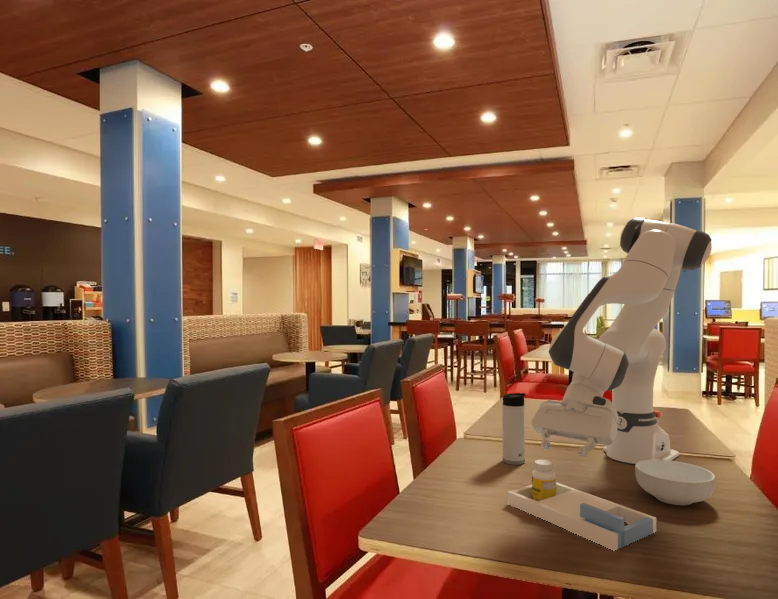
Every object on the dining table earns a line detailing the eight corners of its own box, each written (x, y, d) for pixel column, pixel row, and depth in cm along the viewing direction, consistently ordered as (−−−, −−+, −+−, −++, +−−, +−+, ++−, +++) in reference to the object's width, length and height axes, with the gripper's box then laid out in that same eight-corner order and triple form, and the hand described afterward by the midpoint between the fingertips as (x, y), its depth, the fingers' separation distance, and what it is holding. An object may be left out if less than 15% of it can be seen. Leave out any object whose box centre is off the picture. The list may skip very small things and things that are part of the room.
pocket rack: (549, 491, 129) (549, 469, 129) (656, 532, 106) (656, 505, 106) (507, 504, 121) (507, 480, 121) (614, 551, 98) (613, 522, 98)
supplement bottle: (528, 500, 124) (528, 458, 124) (550, 499, 124) (550, 458, 124) (536, 509, 118) (536, 466, 118) (560, 508, 119) (560, 465, 119)
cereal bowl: (715, 519, 113) (715, 486, 113) (630, 503, 121) (630, 473, 121) (715, 494, 127) (715, 465, 127) (639, 482, 136) (639, 454, 136)
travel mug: (526, 465, 149) (526, 395, 149) (502, 464, 150) (502, 394, 150) (525, 459, 155) (525, 391, 155) (502, 457, 157) (502, 390, 157)
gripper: (538, 392, 138) (519, 436, 131) (617, 401, 123) (600, 452, 116) (547, 406, 141) (528, 450, 134) (625, 418, 126) (609, 467, 119)
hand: (562, 451), depth 125 cm, fingers open, 8 cm apart
